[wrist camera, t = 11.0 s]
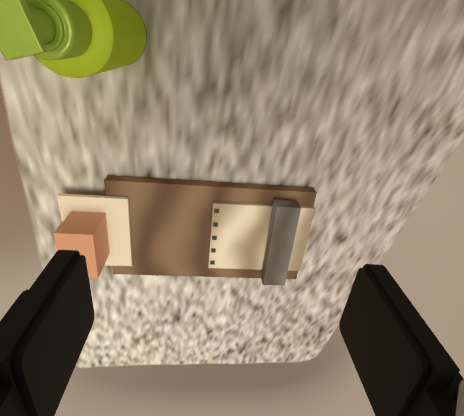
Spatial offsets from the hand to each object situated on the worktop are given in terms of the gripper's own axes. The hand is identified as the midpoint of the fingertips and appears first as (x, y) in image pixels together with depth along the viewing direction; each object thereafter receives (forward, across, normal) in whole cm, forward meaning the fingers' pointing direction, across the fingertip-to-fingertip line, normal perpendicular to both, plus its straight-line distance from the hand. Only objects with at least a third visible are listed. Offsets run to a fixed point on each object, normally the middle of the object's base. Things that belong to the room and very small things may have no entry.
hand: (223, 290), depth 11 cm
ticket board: (+28, 0, +16) cm, 33 cm away
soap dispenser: (+29, +11, -7) cm, 32 cm away
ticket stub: (+27, +14, +16) cm, 34 cm away
